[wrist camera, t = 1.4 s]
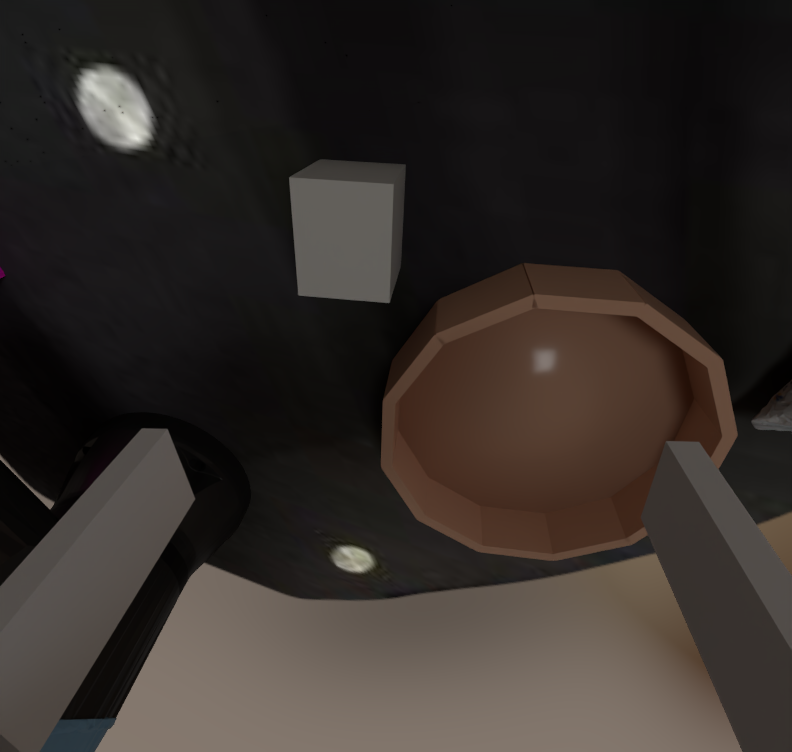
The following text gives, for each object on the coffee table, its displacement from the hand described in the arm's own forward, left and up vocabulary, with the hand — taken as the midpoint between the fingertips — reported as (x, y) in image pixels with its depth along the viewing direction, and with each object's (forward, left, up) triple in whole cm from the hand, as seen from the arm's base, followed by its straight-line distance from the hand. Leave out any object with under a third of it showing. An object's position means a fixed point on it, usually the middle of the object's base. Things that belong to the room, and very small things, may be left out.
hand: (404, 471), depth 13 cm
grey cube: (-5, +2, -20) cm, 20 cm away
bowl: (+8, -11, -20) cm, 24 cm away
